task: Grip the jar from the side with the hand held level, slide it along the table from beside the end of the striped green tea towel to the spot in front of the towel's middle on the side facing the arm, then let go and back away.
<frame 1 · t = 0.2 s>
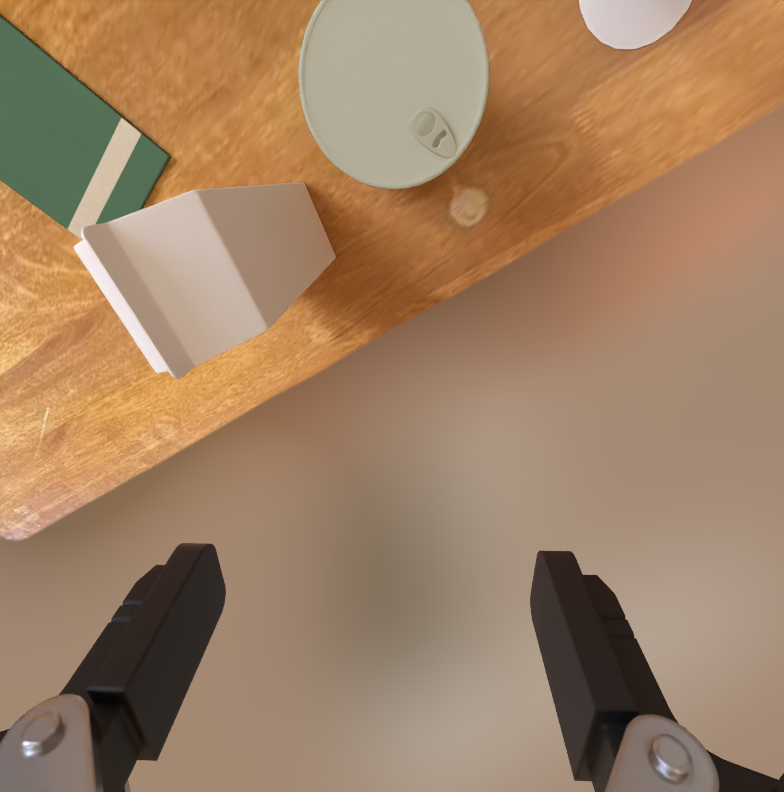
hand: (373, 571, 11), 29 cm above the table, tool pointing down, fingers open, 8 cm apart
towel: (17, 114, 33), on the table
milk: (288, 235, 36), on the table
can: (400, 114, 32), on the table
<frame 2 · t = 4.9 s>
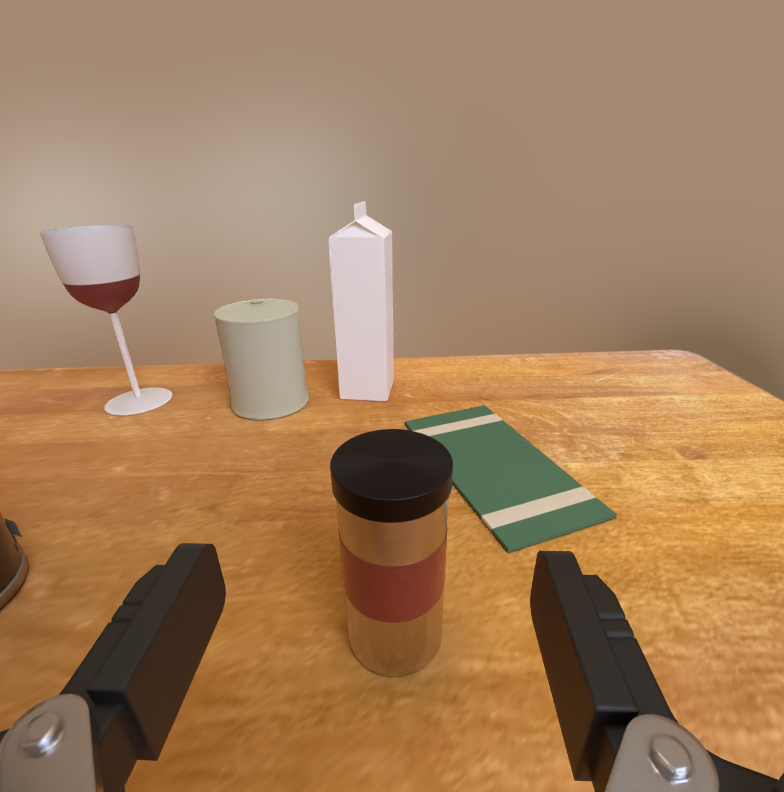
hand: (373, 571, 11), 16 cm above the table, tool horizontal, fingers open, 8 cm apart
wineglass: (139, 401, 56), on the table
towel: (493, 463, 43), on the table
jar: (395, 631, 27), on the table
milk: (368, 391, 58), on the table
can: (271, 403, 55), on the table
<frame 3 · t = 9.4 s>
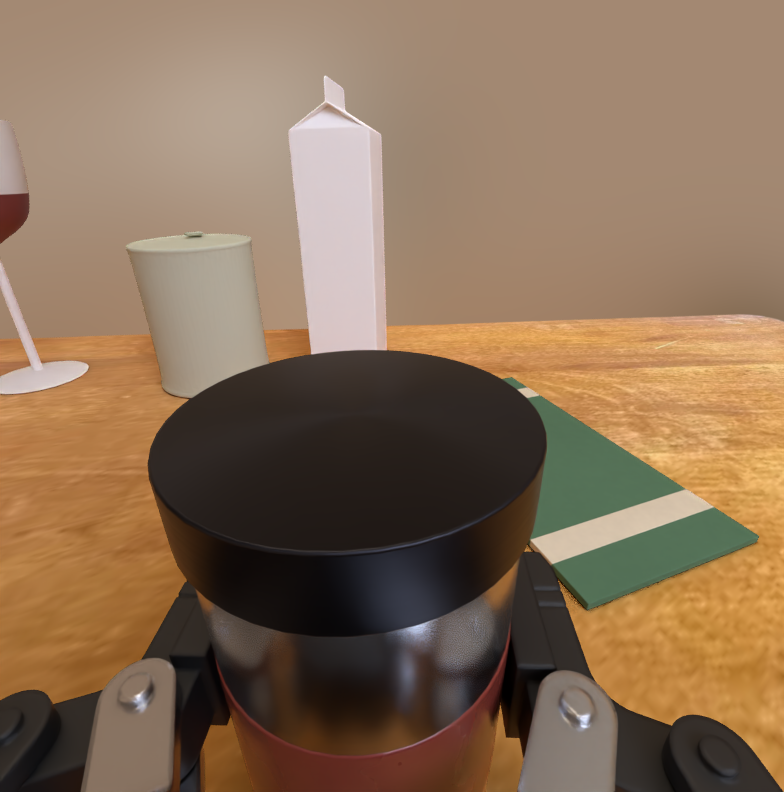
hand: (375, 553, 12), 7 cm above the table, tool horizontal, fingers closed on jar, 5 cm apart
wineglass: (41, 378, 41), on the table
towel: (535, 455, 28), on the table
milk: (351, 363, 43), on the table
can: (219, 377, 40), on the table
when the fingers open (7 cm above the table, at t = 14.0 s): jar stays where it is, on the table.
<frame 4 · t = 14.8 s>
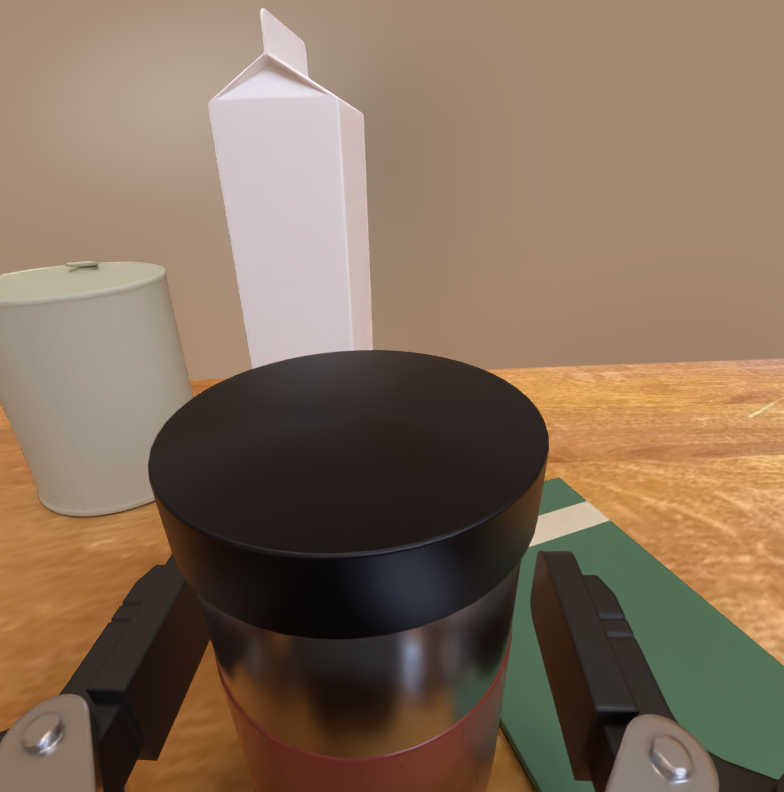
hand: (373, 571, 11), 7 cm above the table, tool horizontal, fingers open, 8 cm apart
towel: (631, 681, 16), on the table
milk: (325, 440, 30), on the table
can: (130, 469, 28), on the table
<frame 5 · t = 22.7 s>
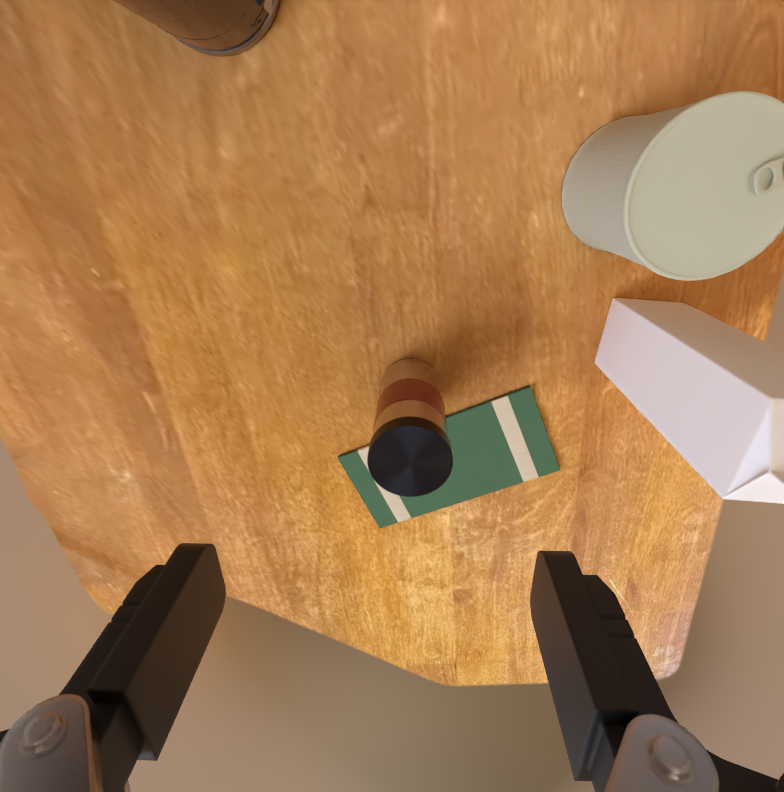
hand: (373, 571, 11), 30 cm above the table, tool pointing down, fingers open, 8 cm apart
towel: (448, 461, 46), on the table
jar: (411, 385, 42), on the table
milk: (635, 332, 39), on the table
can: (622, 187, 34), on the table
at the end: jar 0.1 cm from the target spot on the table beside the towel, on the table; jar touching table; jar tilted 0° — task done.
